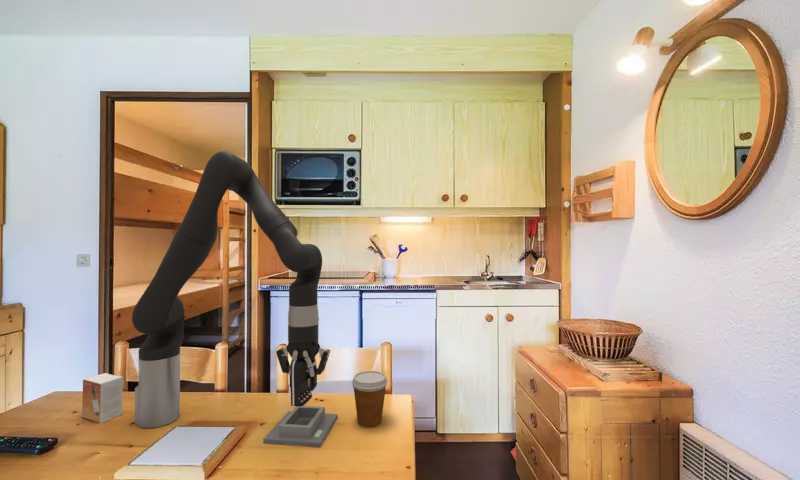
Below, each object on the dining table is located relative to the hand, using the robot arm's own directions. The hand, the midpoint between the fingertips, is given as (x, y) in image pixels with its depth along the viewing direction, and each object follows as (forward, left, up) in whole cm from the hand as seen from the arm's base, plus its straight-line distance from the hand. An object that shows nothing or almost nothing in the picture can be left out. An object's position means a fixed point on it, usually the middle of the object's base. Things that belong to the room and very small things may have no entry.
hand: (303, 389), depth 91 cm
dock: (0, 0, -10) cm, 10 cm away
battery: (0, 0, -3) cm, 3 cm away
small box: (-57, 0, -11) cm, 58 cm away
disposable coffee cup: (+16, +6, -10) cm, 20 cm away
